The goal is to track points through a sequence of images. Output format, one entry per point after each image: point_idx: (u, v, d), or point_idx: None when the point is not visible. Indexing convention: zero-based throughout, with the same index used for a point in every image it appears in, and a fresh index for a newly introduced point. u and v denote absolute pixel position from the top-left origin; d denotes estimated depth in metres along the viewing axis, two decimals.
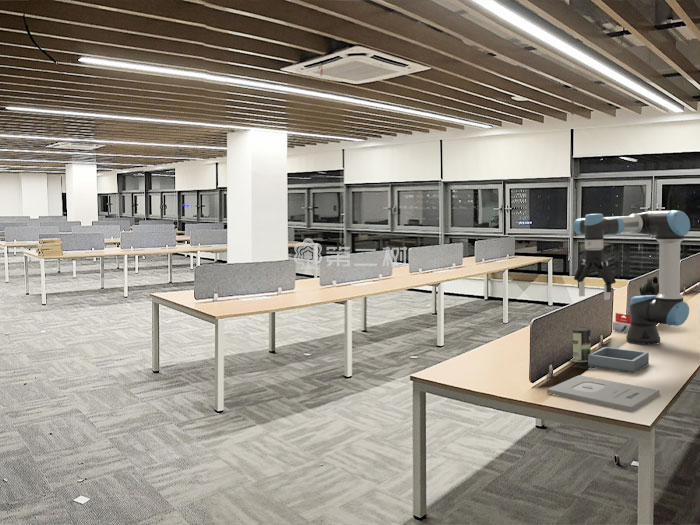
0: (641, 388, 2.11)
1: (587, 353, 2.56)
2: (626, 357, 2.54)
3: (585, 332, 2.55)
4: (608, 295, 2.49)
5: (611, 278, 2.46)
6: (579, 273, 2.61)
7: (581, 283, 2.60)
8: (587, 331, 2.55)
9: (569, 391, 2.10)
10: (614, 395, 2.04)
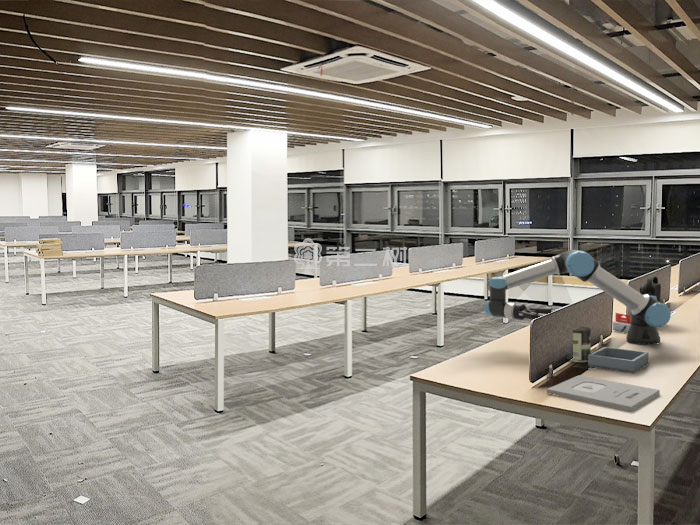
0: (641, 388, 2.11)
1: (587, 353, 2.56)
2: (626, 357, 2.54)
3: (585, 332, 2.55)
4: None
5: (530, 317, 2.65)
6: None
7: None
8: (587, 331, 2.55)
9: (569, 391, 2.10)
10: (614, 395, 2.04)
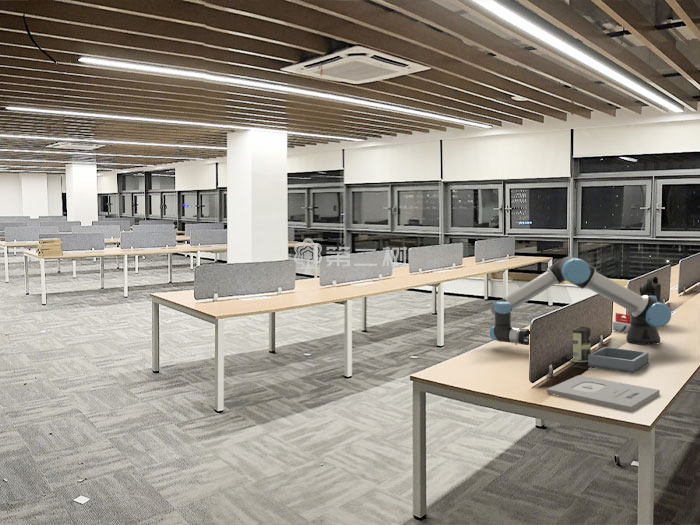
0: (641, 388, 2.11)
1: (587, 353, 2.56)
2: (626, 357, 2.54)
3: (585, 332, 2.55)
4: None
5: None
6: None
7: None
8: (587, 331, 2.55)
9: (569, 391, 2.10)
10: (614, 395, 2.04)
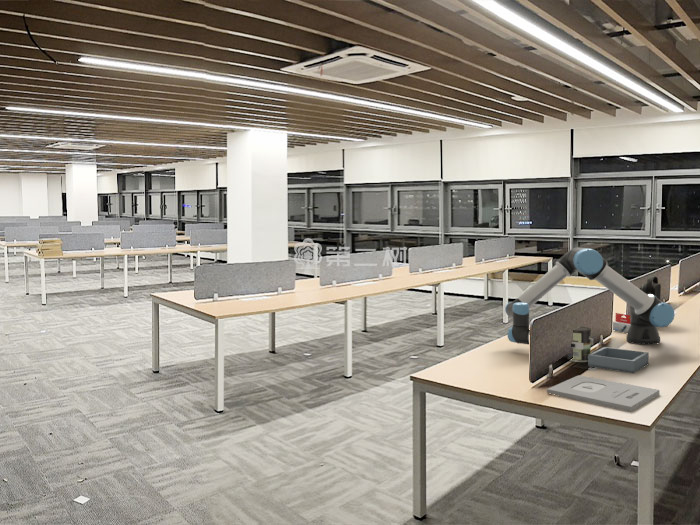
0: (641, 388, 2.11)
1: (587, 353, 2.56)
2: (626, 357, 2.54)
3: (585, 332, 2.55)
4: (578, 345, 2.54)
5: None
6: None
7: None
8: (587, 331, 2.55)
9: (569, 391, 2.10)
10: (614, 395, 2.04)
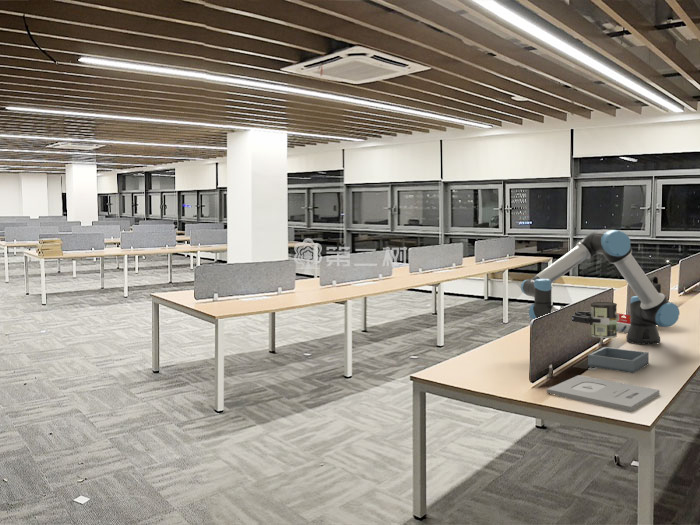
0: (640, 388, 2.11)
1: (613, 329, 2.47)
2: (626, 357, 2.54)
3: (611, 307, 2.46)
4: (604, 320, 2.45)
5: (584, 321, 2.49)
6: None
7: None
8: (613, 306, 2.46)
9: (569, 391, 2.10)
10: (614, 395, 2.04)
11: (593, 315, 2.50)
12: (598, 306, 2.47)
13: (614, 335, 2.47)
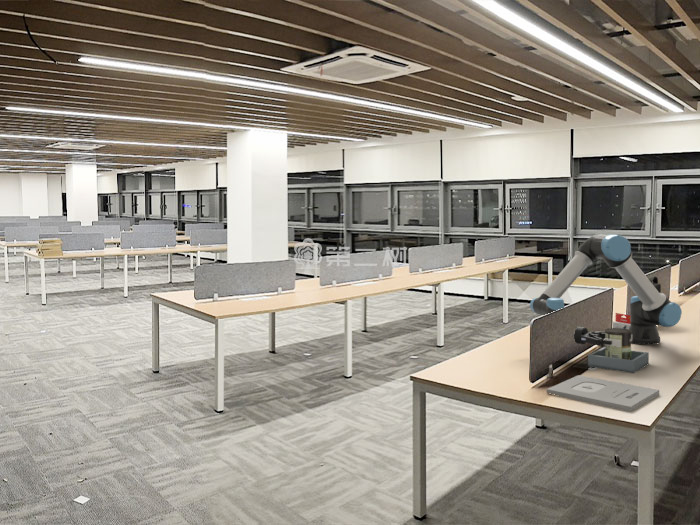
0: (640, 388, 2.11)
1: (628, 356, 2.44)
2: None
3: (626, 334, 2.43)
4: (615, 342, 2.42)
5: (595, 343, 2.46)
6: None
7: None
8: (628, 333, 2.43)
9: (568, 391, 2.10)
10: (614, 395, 2.04)
11: None
12: (613, 333, 2.44)
13: None
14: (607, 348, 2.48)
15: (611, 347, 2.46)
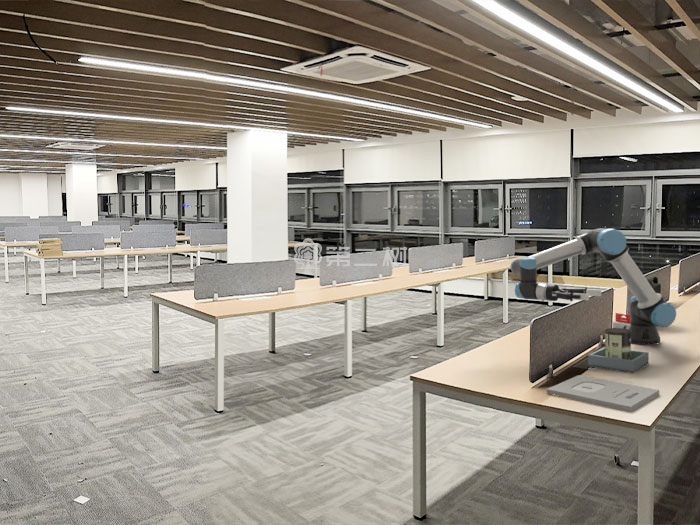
0: (640, 388, 2.11)
1: (628, 356, 2.44)
2: None
3: (625, 334, 2.43)
4: (584, 296, 2.50)
5: (564, 297, 2.53)
6: None
7: (587, 293, 2.62)
8: (628, 333, 2.43)
9: (568, 391, 2.10)
10: (614, 395, 2.04)
11: (607, 342, 2.47)
12: (613, 333, 2.44)
13: None
14: (607, 348, 2.48)
15: (611, 347, 2.46)
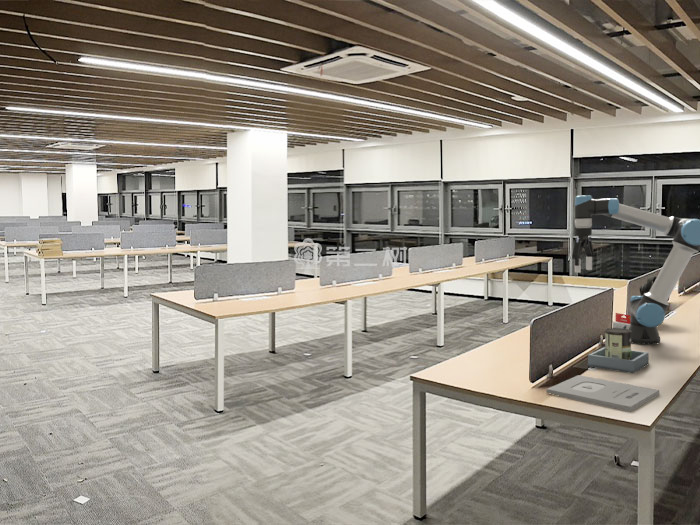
0: (640, 388, 2.11)
1: (628, 356, 2.44)
2: None
3: (626, 334, 2.43)
4: (578, 268, 2.79)
5: (574, 253, 2.77)
6: None
7: (587, 258, 2.89)
8: (628, 333, 2.43)
9: (568, 391, 2.10)
10: (614, 395, 2.04)
11: (607, 342, 2.47)
12: (613, 333, 2.44)
13: None
14: (607, 348, 2.48)
15: (611, 347, 2.46)
